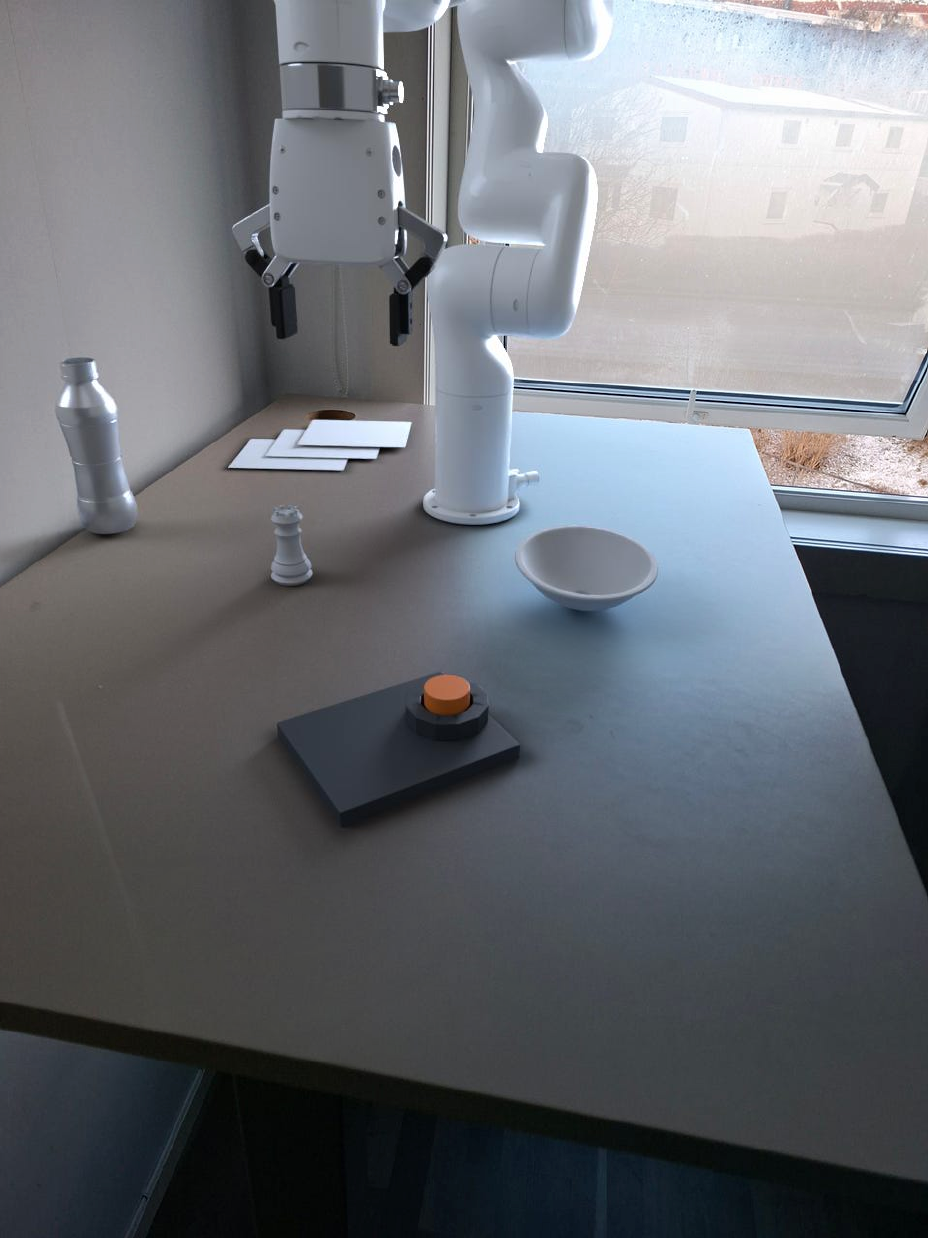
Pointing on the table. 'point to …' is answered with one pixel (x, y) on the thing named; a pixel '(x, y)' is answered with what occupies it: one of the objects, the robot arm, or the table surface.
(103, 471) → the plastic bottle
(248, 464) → the paper stack
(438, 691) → the button
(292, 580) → the rook chess piece
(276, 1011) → the table surface
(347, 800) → the scale
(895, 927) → the table surface
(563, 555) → the dish
